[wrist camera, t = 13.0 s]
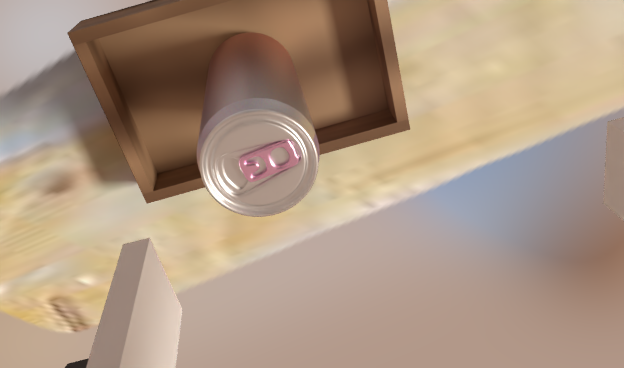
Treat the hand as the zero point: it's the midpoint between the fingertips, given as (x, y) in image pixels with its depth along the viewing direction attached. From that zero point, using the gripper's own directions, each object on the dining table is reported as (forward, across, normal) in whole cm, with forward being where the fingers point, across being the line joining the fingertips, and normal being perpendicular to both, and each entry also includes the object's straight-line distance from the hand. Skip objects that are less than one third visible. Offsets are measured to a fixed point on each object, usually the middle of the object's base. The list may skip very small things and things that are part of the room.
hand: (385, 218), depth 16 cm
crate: (+26, -4, -3) cm, 27 cm away
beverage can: (+26, -4, -3) cm, 26 cm away
